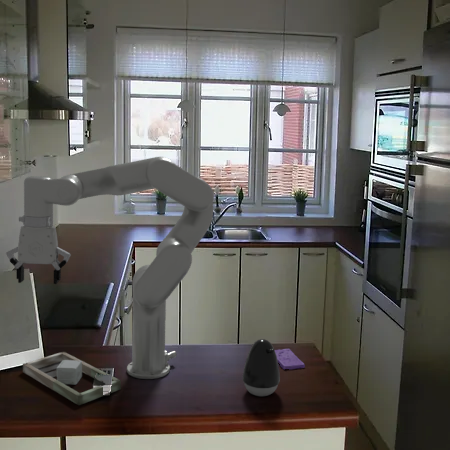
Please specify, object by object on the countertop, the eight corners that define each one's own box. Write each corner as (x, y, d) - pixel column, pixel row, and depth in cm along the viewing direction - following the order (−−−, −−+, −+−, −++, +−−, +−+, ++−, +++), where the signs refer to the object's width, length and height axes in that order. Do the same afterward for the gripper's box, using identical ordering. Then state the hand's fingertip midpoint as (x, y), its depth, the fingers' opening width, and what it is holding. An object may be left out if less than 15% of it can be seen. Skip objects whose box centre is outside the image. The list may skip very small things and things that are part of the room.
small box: (63, 375, 165) (62, 359, 165) (82, 376, 165) (82, 360, 164) (56, 384, 160) (55, 367, 159) (76, 385, 160) (76, 368, 159)
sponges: (288, 353, 188) (289, 348, 188) (305, 369, 176) (305, 363, 176) (268, 355, 186) (269, 350, 186) (283, 371, 174) (284, 365, 174)
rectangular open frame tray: (63, 359, 176) (63, 351, 176) (120, 389, 158) (120, 380, 157) (23, 372, 166) (22, 363, 166) (78, 405, 148) (78, 396, 148)
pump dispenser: (254, 404, 152) (256, 349, 149) (235, 387, 161) (237, 336, 159) (286, 396, 157) (289, 343, 154) (266, 381, 166) (269, 331, 163)
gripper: (1, 222, 154) (2, 284, 157) (67, 225, 155) (67, 287, 157) (10, 218, 161) (11, 277, 164) (73, 220, 162) (73, 279, 165)
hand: (38, 282), depth 161 cm, fingers open, 9 cm apart
